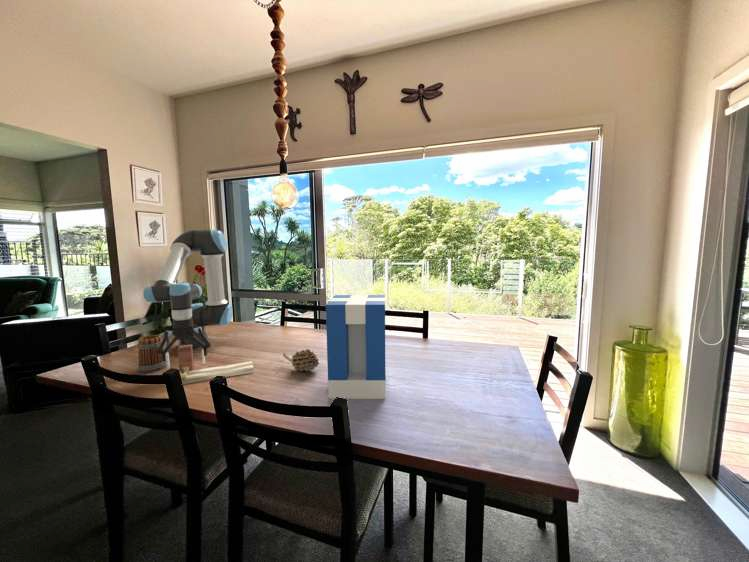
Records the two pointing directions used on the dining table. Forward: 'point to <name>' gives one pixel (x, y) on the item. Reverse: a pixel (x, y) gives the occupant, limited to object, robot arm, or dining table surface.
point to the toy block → (356, 346)
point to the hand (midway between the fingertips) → (186, 365)
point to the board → (218, 372)
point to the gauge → (185, 360)
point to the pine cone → (303, 360)
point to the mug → (151, 353)
